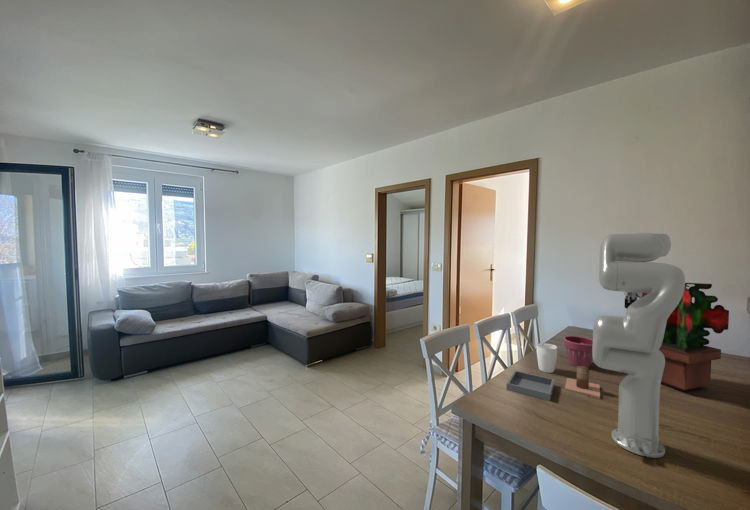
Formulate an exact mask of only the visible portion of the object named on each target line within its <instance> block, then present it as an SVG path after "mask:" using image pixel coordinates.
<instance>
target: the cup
mask: <svg viewBox="0 0 750 510" xmlns="http://www.w3.org/2000/svg"><path fill="white" fill-rule="evenodd" d="M557 357H558V346H557V345H555V344H551V343H547V342H538V343H537V344H536V358H537V364H538V370H540V372H541V371H542V372H543V373H554V372H555V370H556V363H557Z"/></svg>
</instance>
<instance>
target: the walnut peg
mask: <svg viewBox="0 0 750 510" xmlns="http://www.w3.org/2000/svg"><path fill="white" fill-rule="evenodd" d="M575 380H576V386H577V387H579V388H582V389H588V388H589V383H590V367H589V368H587V367H583V366H577V367H576V379H575Z"/></svg>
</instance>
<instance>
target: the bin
mask: <svg viewBox="0 0 750 510" xmlns="http://www.w3.org/2000/svg"><path fill="white" fill-rule="evenodd" d="M554 387H555V379H554V378H551V377H547V376H546V377H545V376H542V375H538V374H534V373H533V374H532V373H529V372H524V371H519V370H513V372H512V374H511V376H510V377H509V379H508V381H507V382H506V391H510V392H514V393H518V394H521V395H525V396H527V397H528V396H529V397H533V398H537V399H540V400H544V401H548V402H551V399H552V395H553V392H554Z"/></svg>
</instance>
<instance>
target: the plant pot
mask: <svg viewBox="0 0 750 510" xmlns="http://www.w3.org/2000/svg"><path fill="white" fill-rule="evenodd" d="M592 345H593V338H592V339H591V338H589V337H584V336H578V335H577V336H576V335H568V336H567V335H566V336H564V337H563V346H564V347H565V350H566V354H567V359H568V360H567V361H568V364H569V365H571V366H572V367H576V368H577V366H583V367H587V368H589V369H590V367H591V365H592V363H593V357H592Z"/></svg>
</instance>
